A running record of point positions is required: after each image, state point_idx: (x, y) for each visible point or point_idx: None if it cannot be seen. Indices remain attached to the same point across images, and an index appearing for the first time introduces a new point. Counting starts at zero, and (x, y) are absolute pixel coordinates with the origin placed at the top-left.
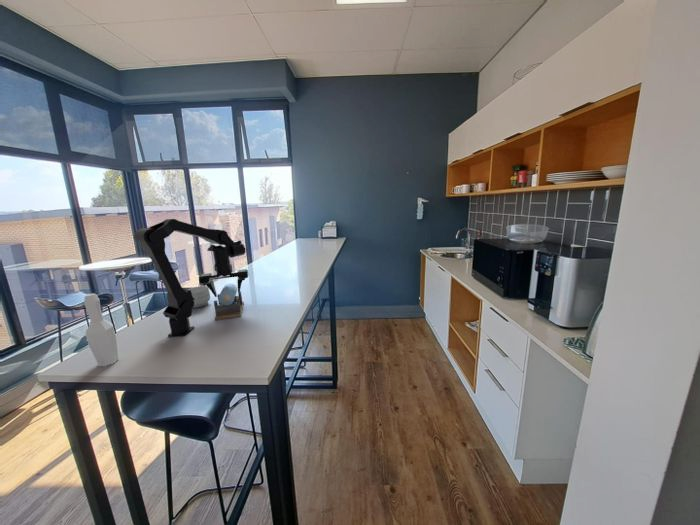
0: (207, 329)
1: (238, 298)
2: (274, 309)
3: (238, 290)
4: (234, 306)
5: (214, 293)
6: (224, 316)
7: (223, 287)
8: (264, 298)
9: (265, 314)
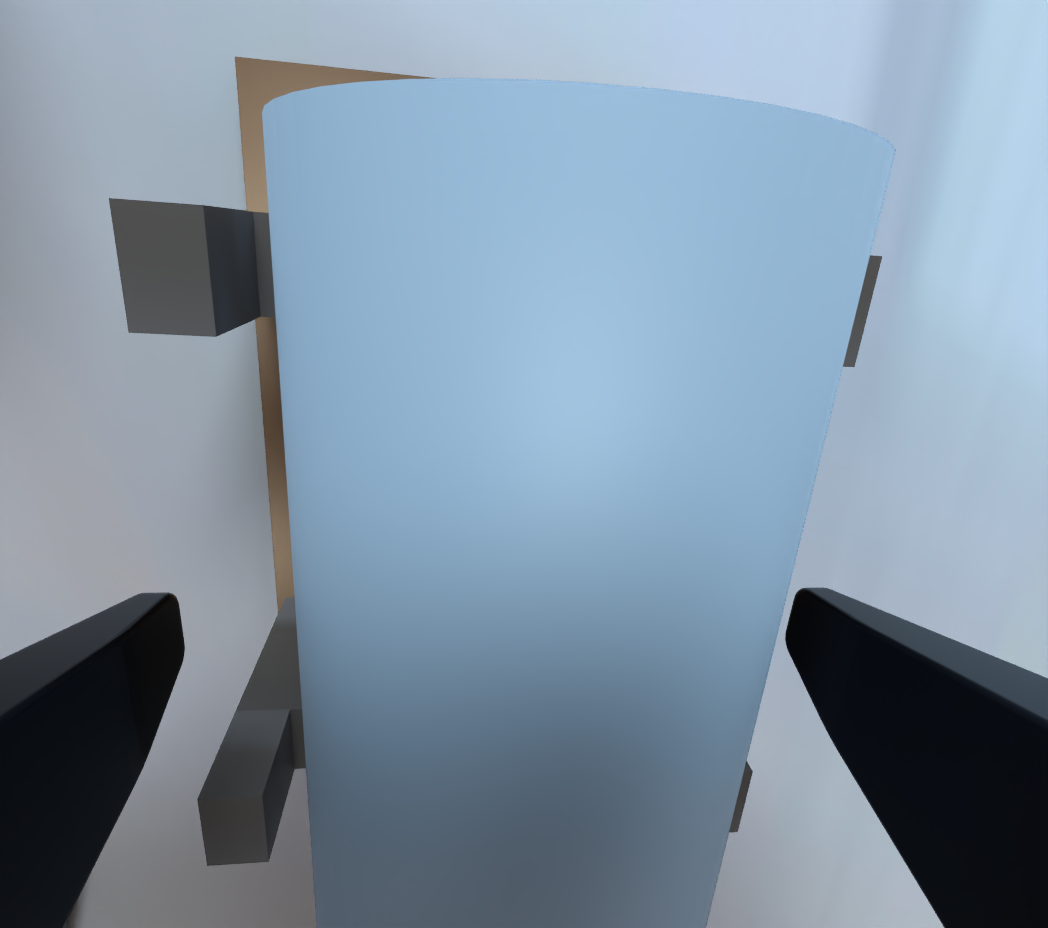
0: (269, 894)
1: (735, 828)
2: (1030, 630)
3: (861, 763)
4: None
5: (96, 810)
6: None
7: (343, 420)
8: None
9: None
